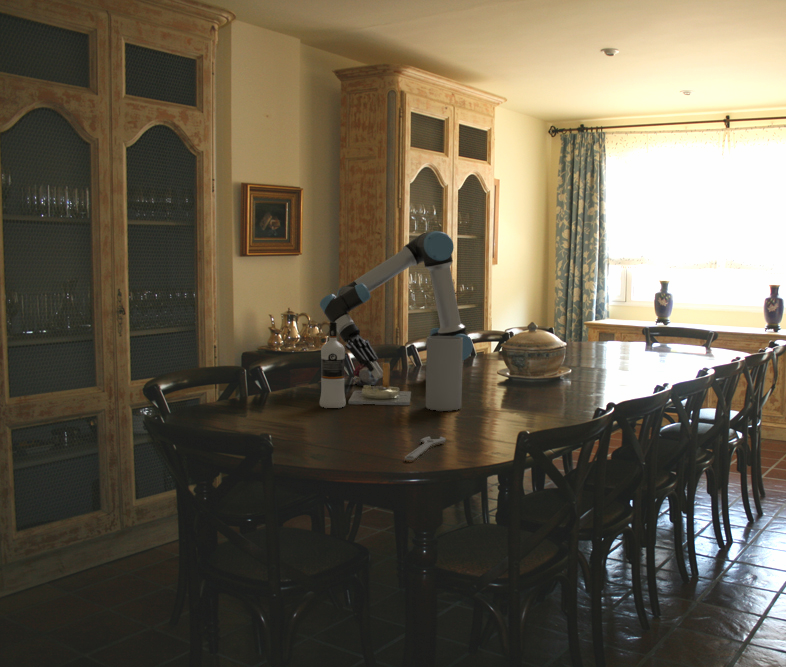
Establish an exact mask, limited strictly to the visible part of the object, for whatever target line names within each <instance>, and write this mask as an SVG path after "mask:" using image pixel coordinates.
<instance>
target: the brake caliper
mask: <svg viewBox="0 0 786 667" xmlns="http://www.w3.org/2000/svg"><path fill="white" fill-rule="evenodd" d="M363 365H364V364H363ZM363 365H361V364H360V363H359V365H358V366H356V367H355V369H354V370H353V378H352V381H353V382H354V384H357V385H356V386H364V385H374V386H376V384H377V382H379V379H380V378H378V379H375V378H374V376H373V375H372V373H371V372H370V371H369V369H368V368H367V366H365V367H363Z"/></svg>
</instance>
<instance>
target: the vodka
mask: <svg viewBox="0 0 786 667" xmlns="http://www.w3.org/2000/svg"><path fill="white" fill-rule="evenodd" d="M328 334H329V336H328V337H329V338H328V339H329V340H328V341H327V342H326V343H324V344H323V345H322V346H321V347H320V348H321V349H320V355H321V356H320V359H321V378H320V382H321V388H320V390H321V391H320V392H321V393H320V399H319V406H320V407H321V408H323V407H324V408H323V409H327V408H338V409H343V408H344V407H345V406H346V404H347V399H346V394H345V380H346V378H345V358H346V356H345V355H346V354H345V353H346V349H345V348H346V347H345V345H343V344H342V343H341V342H340V341H338V336H337V334H338V332H337V323H336V322H330V321H329V332H328ZM342 407H343V408H342Z"/></svg>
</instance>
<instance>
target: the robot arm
mask: <svg viewBox="0 0 786 667" xmlns="http://www.w3.org/2000/svg"><path fill="white" fill-rule="evenodd" d="M454 246H455V245H454V242H453V239H452V238H451V237H450V235H449V234H447V233H446V232H443V231H439V230H434V231H430V232H429V231H426V232H423V233H420V234H419V235H418V236H416V237H415V238H414V239H413V240H411V241H410V242H408V243H407V244H405V245H404V246H402V249H401V250H400V251H399V252H397V253H396V254H394V255H392V256H390V257H389V258H388V259H386V260H384V261H383V262H381V263H380V264H379V265H377V266H375V267H374V268H372V269H371V270H369V271H367V272H365V273H364V274H363V275H360V276H359V277H358V278H357V279H355V280H353V281H352V282H350V283H349V284H346V285H344V286H341V287H340V288H339V289H338V290H337V294H336V295H335V293H330V294H327V295H325V296H324V297H323V298H322V299H321V300H320V302H319V307H320V309H321V310H322V312H323V313H324V315H325V317H326V318H327V319H328V321H329V323H330V322H336V323H337V334H339V337H340V338H341V339H342V341H343V342H345V343H346V344H345V345H344V348H346V349H347V350H348V351H349V352H350V353H351V355H352V356H353V357H354V359H356V360H357V362H358V363H359V365H360V364H361V365H363V367H365V366H367V368H368V369H369V371H370V372H371V373H372V375H373V376H374V378H375V379H378V378H379V379H381V378H382V379H383V368H381V366H380V365H379V363H378V360H379V357H378V355H377V354H376V352H375V350H374V349H373V347H372V345H371V343H370V340H369V339H367V338H366V340H365V339H364V338H363V337H362V336H361V335H360V333H361V330H360V329H359V327H358V326H357V325H356V324H355V322H354V320H353V318H352V317H351V315H350V314H349V312H352V310H354V309H356V308H358V307H359V306H361V305H364V304H365V303H366V302H368V301H369V300H370V299H371V298H372V296H371V292H372V291H374V290H376V289H377V288H379V287H380V286H382V285H383V284H385V283H387V282H388V281H389V280H392V278H394V277H395V276H397V275H399V274H401V273H402V272H404V271H405V270H407V269H408V268H410V267H411V266H412V267H416V266H418V265H419V264H421V263H424V268H425V269H427V270H428V271H429V275H430V281H431V285H432V290H433V295H434V299H435V305H436V311H437V316H438V321H439V326H440V327H434V328H431V329H430V335H429V337H430V336H454V337H461V338H463V350H462V362H463V361H465V360H467V359H468V358H469V357H470V355H471V354H472V351H473V348H474V347H473V346H474V345H473V341H472V339H471V338H470V336H469V335H468V333H467V328H466V325H464V324H463V323H462V322H461V317H460V312H459V307H458V306H459V305H458V301H457V296H456V290H455V286H454V281H453V276H452V271H451V270H452V269H451V265H452V264H453V262H454V260H453V255H452V254H453V253H454V248H455V247H454ZM379 379H378V380H379ZM424 380H425V381H426V374H425V379H424Z"/></svg>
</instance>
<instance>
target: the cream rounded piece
mask: <svg viewBox="0 0 786 667" xmlns="http://www.w3.org/2000/svg"><path fill="white" fill-rule="evenodd" d="M390 366H391V363H390V362H384V363H382V370H383V377H382V385H374V386H371V385H363V387H362V388H361V390H362V396H363V397H366V398H372V399H391V398H397V397H399V396H400V389H401V388H400V387H397V386H390V381H391V380H390V379H391V378H390V376H391V375H390V374H391V367H390Z"/></svg>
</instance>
